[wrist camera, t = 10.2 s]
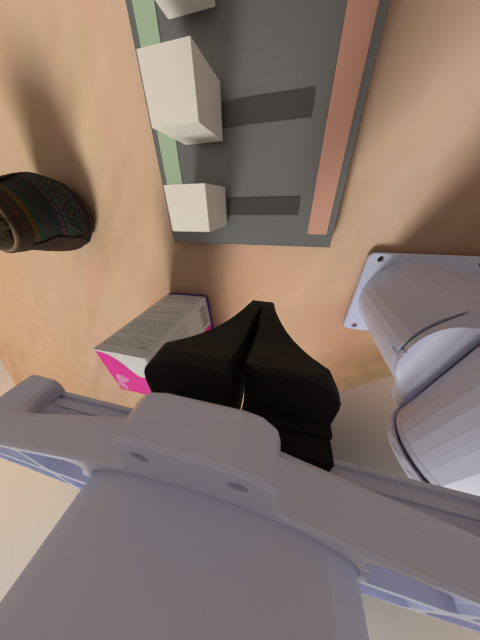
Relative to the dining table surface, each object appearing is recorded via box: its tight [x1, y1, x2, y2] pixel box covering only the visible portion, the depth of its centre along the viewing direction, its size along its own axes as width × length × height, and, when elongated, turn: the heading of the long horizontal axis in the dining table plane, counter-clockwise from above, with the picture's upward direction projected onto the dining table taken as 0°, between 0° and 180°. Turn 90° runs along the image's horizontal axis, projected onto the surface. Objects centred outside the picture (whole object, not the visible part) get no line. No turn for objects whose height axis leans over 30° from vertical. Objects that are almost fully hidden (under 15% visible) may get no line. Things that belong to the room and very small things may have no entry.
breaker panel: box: [126, 0, 390, 247], centre depth 13 cm, size 15×17×2 cm
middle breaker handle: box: [136, 36, 223, 145], centre depth 11 cm, size 3×3×4 cm
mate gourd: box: [0, 172, 93, 253], centre depth 18 cm, size 7×8×10 cm
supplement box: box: [94, 293, 213, 395], centre depth 21 cm, size 6×6×12 cm
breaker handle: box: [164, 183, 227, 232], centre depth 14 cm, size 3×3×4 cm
